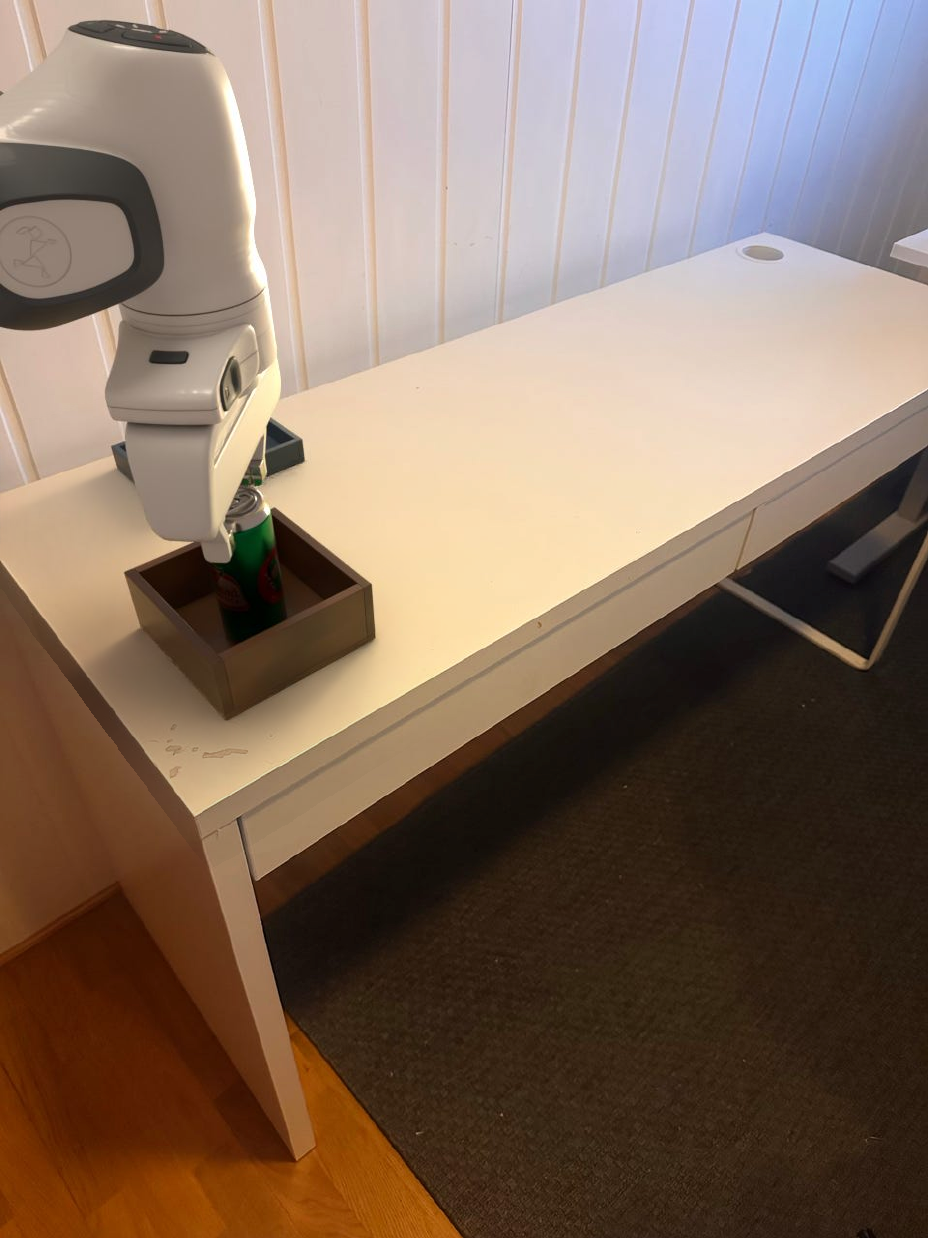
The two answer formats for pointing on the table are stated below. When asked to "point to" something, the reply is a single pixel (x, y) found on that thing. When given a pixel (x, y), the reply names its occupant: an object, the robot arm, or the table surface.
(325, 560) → the basket
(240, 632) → the soda can
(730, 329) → the table surface
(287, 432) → the tray
